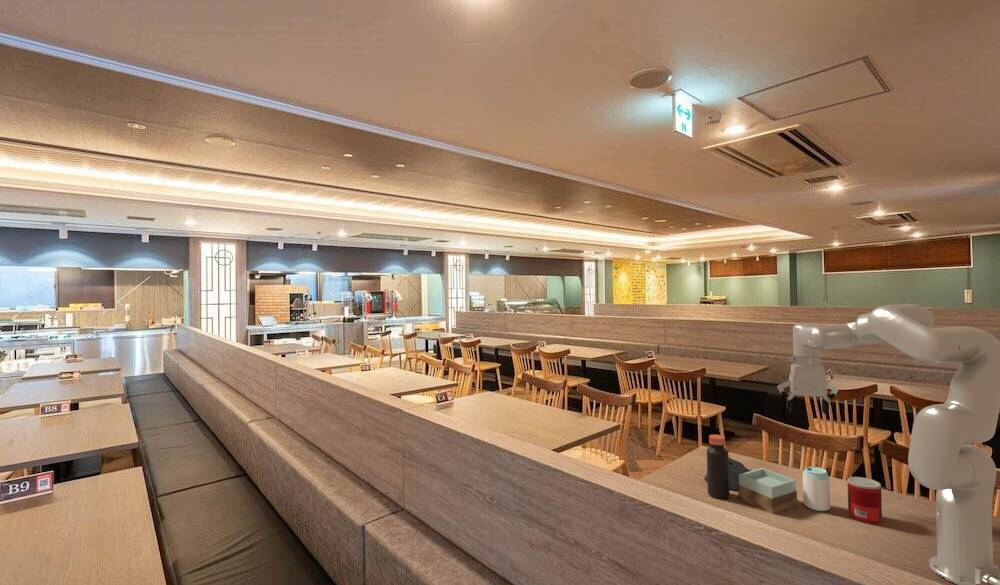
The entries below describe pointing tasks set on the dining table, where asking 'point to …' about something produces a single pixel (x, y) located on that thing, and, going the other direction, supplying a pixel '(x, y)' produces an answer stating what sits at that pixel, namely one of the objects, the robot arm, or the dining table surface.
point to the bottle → (718, 468)
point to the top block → (767, 482)
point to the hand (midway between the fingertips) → (807, 412)
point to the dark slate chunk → (734, 473)
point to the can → (816, 489)
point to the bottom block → (767, 500)
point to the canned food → (864, 500)
